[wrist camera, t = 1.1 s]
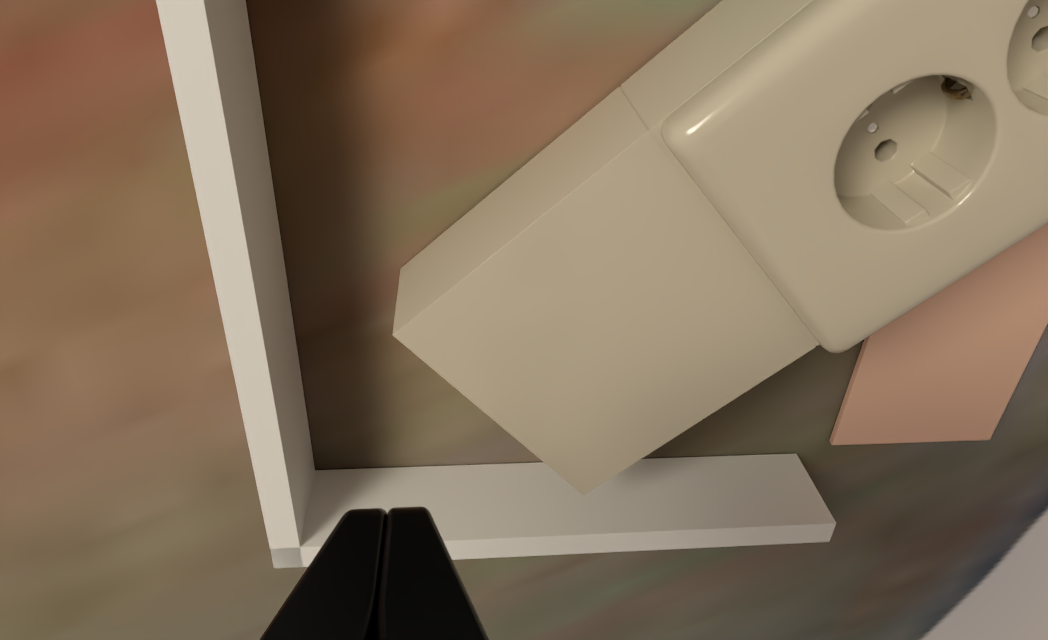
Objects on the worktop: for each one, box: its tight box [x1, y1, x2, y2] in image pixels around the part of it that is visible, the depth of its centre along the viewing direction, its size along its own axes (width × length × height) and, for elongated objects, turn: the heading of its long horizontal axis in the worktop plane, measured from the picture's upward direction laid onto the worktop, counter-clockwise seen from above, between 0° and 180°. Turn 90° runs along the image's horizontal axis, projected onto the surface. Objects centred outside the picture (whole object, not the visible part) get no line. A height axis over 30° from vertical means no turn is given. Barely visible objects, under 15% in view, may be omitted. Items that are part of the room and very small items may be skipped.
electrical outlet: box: [393, 0, 1048, 495], centre depth 17 cm, size 7×4×18 cm
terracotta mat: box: [829, 224, 1048, 445], centre depth 19 cm, size 20×6×1 cm, turn 178°
